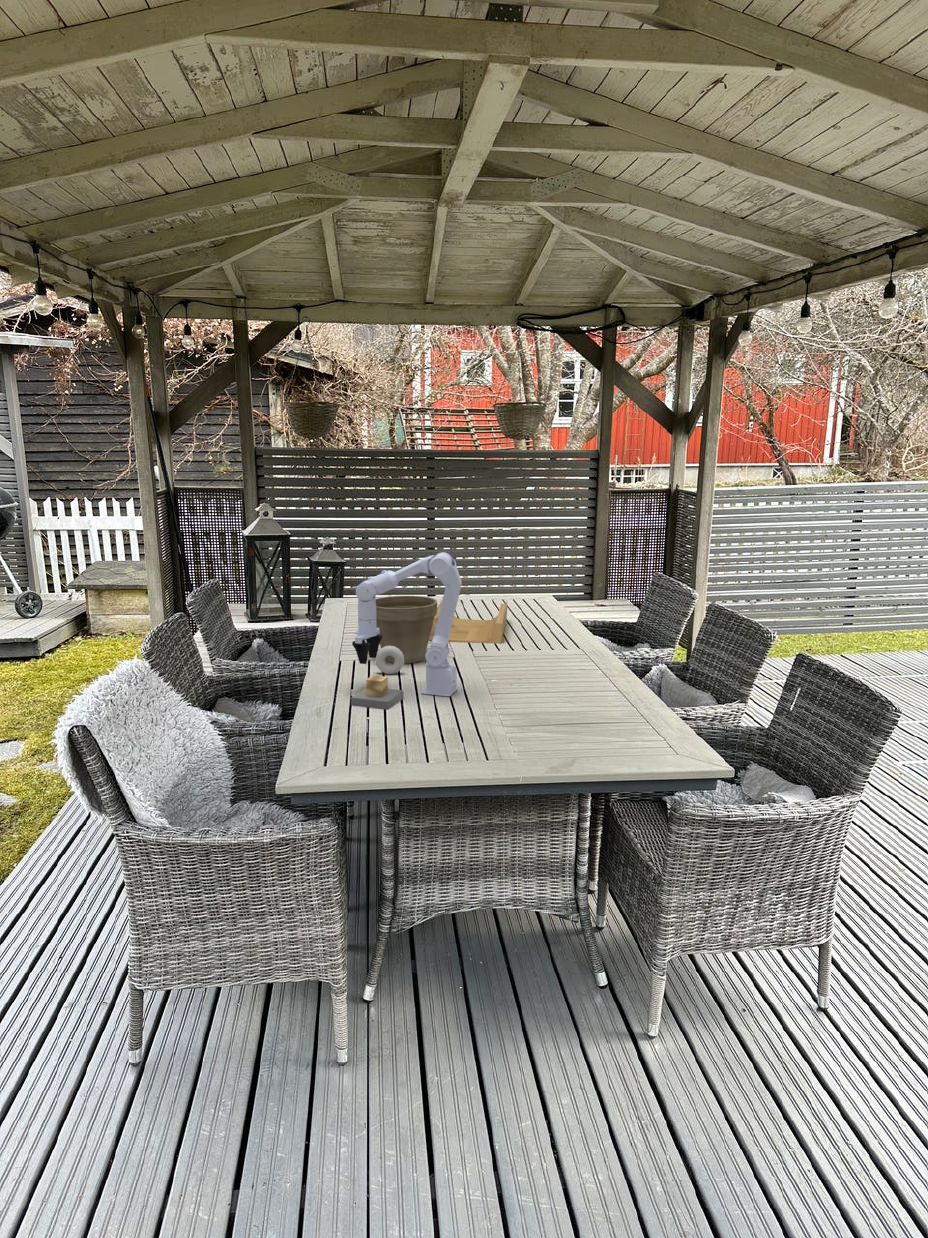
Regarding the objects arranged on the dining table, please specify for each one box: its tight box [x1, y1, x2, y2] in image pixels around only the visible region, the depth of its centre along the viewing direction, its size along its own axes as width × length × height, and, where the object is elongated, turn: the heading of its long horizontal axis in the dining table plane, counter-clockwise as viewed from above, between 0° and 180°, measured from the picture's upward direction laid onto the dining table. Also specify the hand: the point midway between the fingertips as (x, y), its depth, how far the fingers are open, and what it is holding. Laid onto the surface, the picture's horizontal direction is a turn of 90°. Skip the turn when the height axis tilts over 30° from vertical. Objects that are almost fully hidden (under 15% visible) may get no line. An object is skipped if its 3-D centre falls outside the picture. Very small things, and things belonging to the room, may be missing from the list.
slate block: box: [350, 687, 405, 710], centre depth 242 cm, size 12×12×3 cm
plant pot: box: [376, 595, 438, 665], centre depth 289 cm, size 25×25×22 cm
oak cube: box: [365, 674, 389, 697], centre depth 241 cm, size 5×5×5 cm
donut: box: [374, 646, 405, 675], centre depth 270 cm, size 10×3×10 cm, turn 88°
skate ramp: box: [429, 598, 508, 644], centre depth 334 cm, size 40×35×16 cm
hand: (368, 660), depth 253 cm, fingers open, 7 cm apart
